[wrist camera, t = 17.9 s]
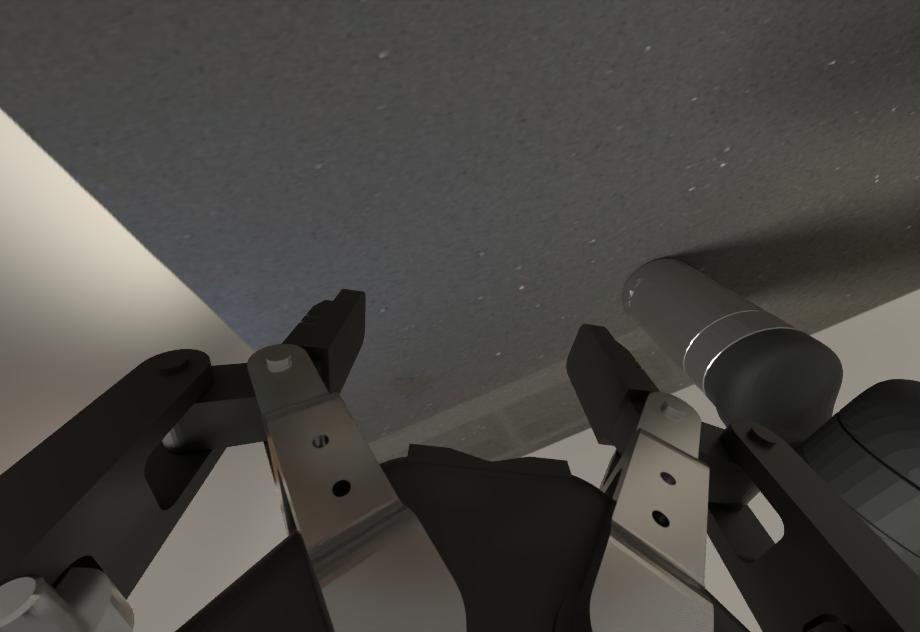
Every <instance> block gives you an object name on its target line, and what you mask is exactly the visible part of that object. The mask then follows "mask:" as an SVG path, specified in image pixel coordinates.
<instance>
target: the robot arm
mask: <svg viewBox="0 0 920 632" xmlns="http://www.w3.org/2000/svg"><path fill="white" fill-rule="evenodd" d="M622 299H623V305H624V307H625V309H626V310H627V312H628V313H629V314H630V315H631V316H632V317H633V318H634V319H635V320H636V322H637V323H638V324H639V325H640V326H641V327H642V328H643V329H644V330H645V331H646V333H647V334H648V335H649V336H650V337H651V338H652V339H653V340H654V341H655V342H656V343H657V344H658V345H659V346H660V348H661V349H662V350H663V351H664V352H665V353H666V354H667V355H668V356H669V357H670V358H671V359H672V360H673V362H674V363H675V364H676V365H677V366H678V367H679V368H680V369H681V370H682V371H683V372H684V373H685V374H686V375H687V377H688V378H689V379H690V380H691V381H692V382H693V383H694V384H695V385H696V386H697V387H698V388H699V389H700V390H701V391H702V392H703V394H704V395H705V396H706V397H707V398H708V399H709V400H710V401H711V402H712V403H713V404H714V405H715V407H716V409H717V412H718V414H719V417H720V418H721V420H722V422H723V423H724V424H725V426H726V427H727V428H726V429H722V428H719V427H716V426H713V425H710V424H707V423H704V422H701V419H700V416H699V415H698V413H697V412H696V411H695V410H694V409H693V408H692V407H691V406H690V405H688V404H687V403H686V402H684V401H683V400H681V399H679V398H678V397H675V396H673V395H671V394H668V393H664V392H660V391H659V390H658V388H657V387H656V386H655V384H654V383H653V382H652V380H651V379H650V378H649V377H648V375H647V374H646V373H645V371H644V370H643V369H641V366H640V365H639V364H638V362H636V361H635V358H634V357H633V356H632V355H631V353H630V352H629V351H628V350H627V349H626V348H625V347H623V346H622V345H621V344H619V343H618V342H617V341H615V339H614V338H613V337H612V335H611V334H610V333H609V331H608V330H607V329H606V328H605V327H603V326H596V325H589V324H583V325H582V326H581V327H580V329H579V331H578V333H577V336H576V338H575V341H574V343H573V346H572V348H571V351H570V353H569V356H568V359H567V366H566V367H567V373H568V376H569V378H570V380H571V383H572V385H573V387H574V389H575V391H576V394H577V396H578V398H579V400H580V403H581V405H582V407H583V409H584V412H585V414H586V416H587V418H588V421H589V423H590V425H591V427H592V430H593V432H594V434H595V436H596V439H597V441H598V443H599V444H603V445H612V446H615V447H616V451H615V453H614V454H613V456H612V458H611V461H610V463H609V465H608V468H607V470H606V473H605V475H604V478H603V480H602V483H601V485H600V488H599V489H598V488H597V487H595V486H594V485H592V484H590V483H588V482H587V481H585V480H583V479H580V478H578V477H576V476H573V475H571V472H570V469H569V466H568V463H567V461H565V460H564V461H563V460H555V459H546V458H536V457H524V458H516V459H509V460H502V461H494V462H491V461H486V460H483V459H480V458H477V457H474V456H471V455H468V454H466V453H463V452H460V451H457V450H454V449H451V448H445V447H435V446H426V445H417V444H410V445H409V451H408V457H401V458H396V459H392V460H389V461H386V462H384V463H381V464H379V463H378V461H377V459H376V458H375V456H374V454H373V452H372V451H371V449H370V447H369V445H368V444H367V442H366V440H365V438H364V437H363V435H362V433H361V431H360V430H359V428H358V426H357V424H356V423H355V421H354V419H353V417H352V416H351V414H350V412H349V410H348V408H347V407H346V405H345V403H344V401H343V400H342V398H341V396H340V395H339V394H340V392H341V390H342V388H343V385H344V383H345V381H346V379H347V377H348V375H349V372H350V370H351V368H352V366H353V364H354V362H355V359H356V357H357V355H358V353H359V351H360V348H361V346H362V343H363V339H364V334H365V301H366V298H365V292H362V291H355V290H348V289H342V290H341V291H340V293H339V294H338V295H337V297H336V298H335V299H334V301H328V300H324V301H323V302H321V303H319V304H317V305H315V306H313V307H312V308H311V309H310V311H309V312H308V313H307V314H306V316H305V317H304V318H303V319H302V320H301V323H299V324H298V325H297V326H296V327H295V328H294V330H293V331H292V332H291V333H290V334H289V336H288V337H287V338H286V339H285V340H284V342H283V343H282V344H277V345H272V346H268V347H265V348H262V349H260V350H258V351H257V352H255V353H254V354H253V355H252V356H251V357H250V358H249V360H248V362H247V363H241V364H230V365H216V366H211V362H210V358H209V356H208V355H207V354H206V353H204V352H202V351H199V350H192V349H180V350H173V351H168V352H165V353H161V354H158V355H156V356H153V357H151V358H149V359H147V360H146V361H144V362H142V363H141V364H140V365H139V366H137V367H136V368H135V369H133V370H132V371H131V372H130V373H128V374H127V375H126V376H125V377H123V378H122V379H121V380H120V381H118V382H117V383H116V384H115V385H113V386H112V387H111V388H110V389H108V390H107V391H106V392H105V393H103V394H102V395H101V396H99V397H98V398H97V399H96V400H94V401H93V402H92V403H91V404H89V405H88V406H87V407H86V408H84V409H83V410H82V411H81V412H79V413H78V414H77V415H76V416H74V417H73V418H72V419H71V420H69V421H68V422H67V423H66V424H64V425H63V426H62V427H61V428H59V429H58V430H57V431H56V432H54V433H53V434H52V435H50V436H49V437H48V438H47V439H45V440H44V441H43V442H42V443H40V444H39V445H38V446H37V447H35V448H34V449H33V450H32V451H30V452H29V453H28V454H26V455H25V456H24V457H23V458H21V459H20V460H19V461H18V462H16V463H15V464H14V465H13V466H12V467H10V468H9V469H8V470H7V471H5V472H4V473H3V474H1V475H0V632H133V627H134V613H133V609H132V608H131V606H130V605H129V603H128V602H127V601H126V600H127V598H128V596H129V595H130V593H131V592H132V590H133V589H134V587H135V586H136V584H137V583H138V581H139V580H140V578H141V577H142V575H143V574H144V572H145V571H146V569H147V568H148V566H149V565H150V563H151V562H152V560H153V559H154V557H155V555H156V554H157V552H158V551H159V549H160V548H161V546H162V545H163V543H164V542H165V540H166V539H167V537H168V536H169V534H170V533H171V531H172V530H173V528H174V527H175V525H176V524H177V522H178V521H179V519H180V518H181V516H182V514H183V513H184V511H185V510H186V508H187V507H188V505H189V504H190V502H191V501H192V499H193V498H194V496H195V495H196V493H197V492H198V490H199V489H200V487H201V486H202V484H203V483H204V481H205V480H206V478H207V477H208V475H209V474H210V472H211V470H212V469H213V467H214V466H215V464H216V463H217V461H218V460H219V458H220V457H221V455H222V454H223V452H224V451H225V449H226V448H227V447H231V446H237V445H243V444H250V443H256V442H263V446H264V449H265V453H266V457H267V460H268V464H269V467H270V470H271V474H272V477H273V481H274V485H275V488H276V492H277V495H278V499H279V503H280V507H281V512H282V516H283V520H284V524H285V527H286V531H287V535H288V537H287V538H285V539H284V540H283V541H282V542H281V543H280V544H278V545H277V546H276V547H275V548H274V549H272V550H271V551H270V552H269V553H268V554H266V555H265V556H264V557H263V558H262V559H261V560H260V561H258V562H257V563H256V564H255V565H253V566H252V567H251V568H250V569H249V570H247V571H246V572H245V573H244V574H243V575H242V576H241V577H239V578H238V579H237V580H236V581H234V582H233V583H232V584H231V585H230V586H229V587H227V588H226V589H225V590H224V591H223V592H222V593H220V594H219V595H218V596H217V597H215V598H214V599H213V600H212V601H211V602H210V603H208V604H207V605H206V606H205V607H204V608H203V609H201V610H200V611H199V612H198V613H197V614H195V615H194V616H193V617H192V618H191V619H190V620H188V621H187V622H186V623H185V624H184V625H182V626H181V627H180V628H179V629H178V630H176V631H175V632H750V631H749V630H748V629H747V628H746V627H745V626H744V625H743V624H742V623H741V622H740V621H739V620H738V619H736V618H735V617H734V616H733V615H732V614H731V613H730V612H729V611H728V610H727V609H726V608H725V607H724V606H723V605H722V604H721V603H720V602H719V601H718V600H717V599H716V598H715V597H714V596H713V595H711V594H710V593H709V592H708V591H707V590H706V589H705V584H704V579H705V557H706V534H708V536H709V537H710V539H711V541H712V543H713V545H714V546H715V548H716V550H717V552H718V553H719V555H720V557H721V559H722V560H723V562H724V564H725V566H726V567H727V569H728V571H729V573H730V574H731V576H732V578H733V580H734V581H735V583H736V585H737V587H738V589H739V590H740V592H741V594H742V595H743V598H744V599H745V601H746V603H747V605H748V606H749V608H750V610H751V612H752V613H753V615H754V617H755V619H756V620H757V622H758V624H759V626H760V628H761V629H762V631H763V632H920V382H918V381H913V380H904V379H892V380H886V381H883V382H879V383H877V384H875V385H873V386H871V387H870V388H868V389H867V390H865V391H864V392H862V393H861V394H859V395H858V396H857V397H856V398H854V399H853V400H852V401H851V402H850V403H848V404H847V405H846V406H845V407H844V408H842V409H841V410H840V411H839V412H838V413H836V414H835V415H834V416H833V417H832V413H833V408H834V404H835V401H836V398H837V395H838V393H839V389H840V387H841V383H842V378H843V369H842V365H841V362H840V360H839V358H838V356H837V355H836V354H835V353H834V352H833V351H832V350H831V349H830V348H829V347H827V346H826V345H824V344H823V343H821V342H820V341H818V340H816V339H814V338H813V337H811V336H809V335H807V334H806V333H804V332H802V331H800V330H798V329H797V328H795V327H793V326H791V325H790V324H788V323H786V322H785V321H783V320H781V319H779V318H778V317H776V316H774V315H773V314H771V313H769V312H767V311H765V310H764V309H762V308H760V307H759V306H757V305H755V304H754V303H752V302H750V301H748V300H747V299H745V298H743V297H742V296H740V295H738V294H737V293H735V292H733V291H731V290H730V289H728V288H726V287H725V286H723V285H721V284H719V283H718V282H716V281H714V280H713V279H711V278H709V277H708V276H706V275H704V274H703V273H701V272H699V271H698V270H696V269H694V268H692V267H691V266H689V265H687V264H686V263H684V262H682V261H680V260H677V259H672V258H663V259H658V260H654V261H652V262H650V263H647V264H646V265H644V266H642V267H641V268H639V269H638V270H637V271H636V272H635V273H634V274H633V275H632V276H631V277H630V278H629V280H628V282H627V283H626V285H625V288H624V291H623V298H622ZM760 491H761V493H762V494H763V495H764V496H765V498H766V499H767V500H768V501H769V503H770V504H771V505H772V506H773V508H774V509H775V510H776V512H777V513H778V514H779V516H780V517H781V519H782V521H783V524H784V536H783V537H782V539H781V540H780V541H778V542H777V543H776V544H775V543H774V541H773V540H772V539H771V537H770V536H769V535H768V533H767V532H766V530H765V529H764V527H763V526H762V525H761V523H760V522H759V520H758V519H757V518H756V516H755V515H754V513H753V512H752V511H751V509H750V508H749V507H748V505H747V504H748V503H749V501H751V500H752V498H754V497H755V496H756V495H757V494H758V493H759V492H760Z"/></svg>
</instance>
